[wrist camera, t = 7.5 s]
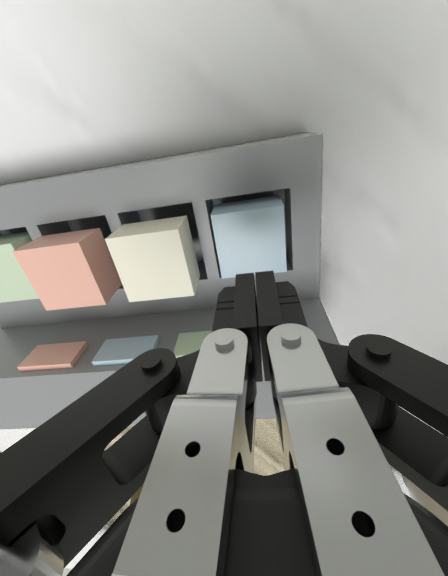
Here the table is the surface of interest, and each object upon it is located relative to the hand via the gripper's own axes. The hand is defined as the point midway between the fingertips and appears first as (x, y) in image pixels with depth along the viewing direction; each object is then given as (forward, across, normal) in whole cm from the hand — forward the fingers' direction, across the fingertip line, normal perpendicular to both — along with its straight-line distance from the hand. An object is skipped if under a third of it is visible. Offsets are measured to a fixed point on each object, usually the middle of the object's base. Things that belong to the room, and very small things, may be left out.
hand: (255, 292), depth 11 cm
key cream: (+7, +6, 0) cm, 9 cm away
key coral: (+7, +11, 0) cm, 13 cm away
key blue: (+9, 0, 0) cm, 9 cm away
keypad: (+10, +8, +2) cm, 14 cm away
